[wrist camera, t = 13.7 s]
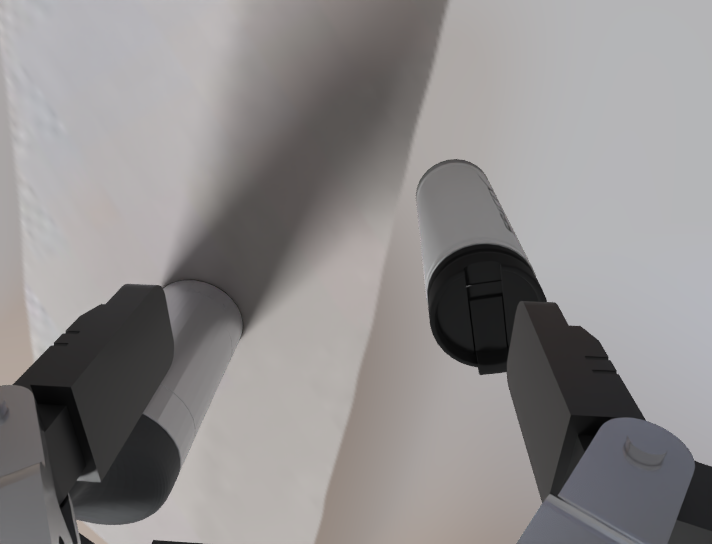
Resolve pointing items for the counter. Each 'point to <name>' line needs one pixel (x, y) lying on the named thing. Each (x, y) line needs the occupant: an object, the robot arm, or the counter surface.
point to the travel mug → (471, 265)
